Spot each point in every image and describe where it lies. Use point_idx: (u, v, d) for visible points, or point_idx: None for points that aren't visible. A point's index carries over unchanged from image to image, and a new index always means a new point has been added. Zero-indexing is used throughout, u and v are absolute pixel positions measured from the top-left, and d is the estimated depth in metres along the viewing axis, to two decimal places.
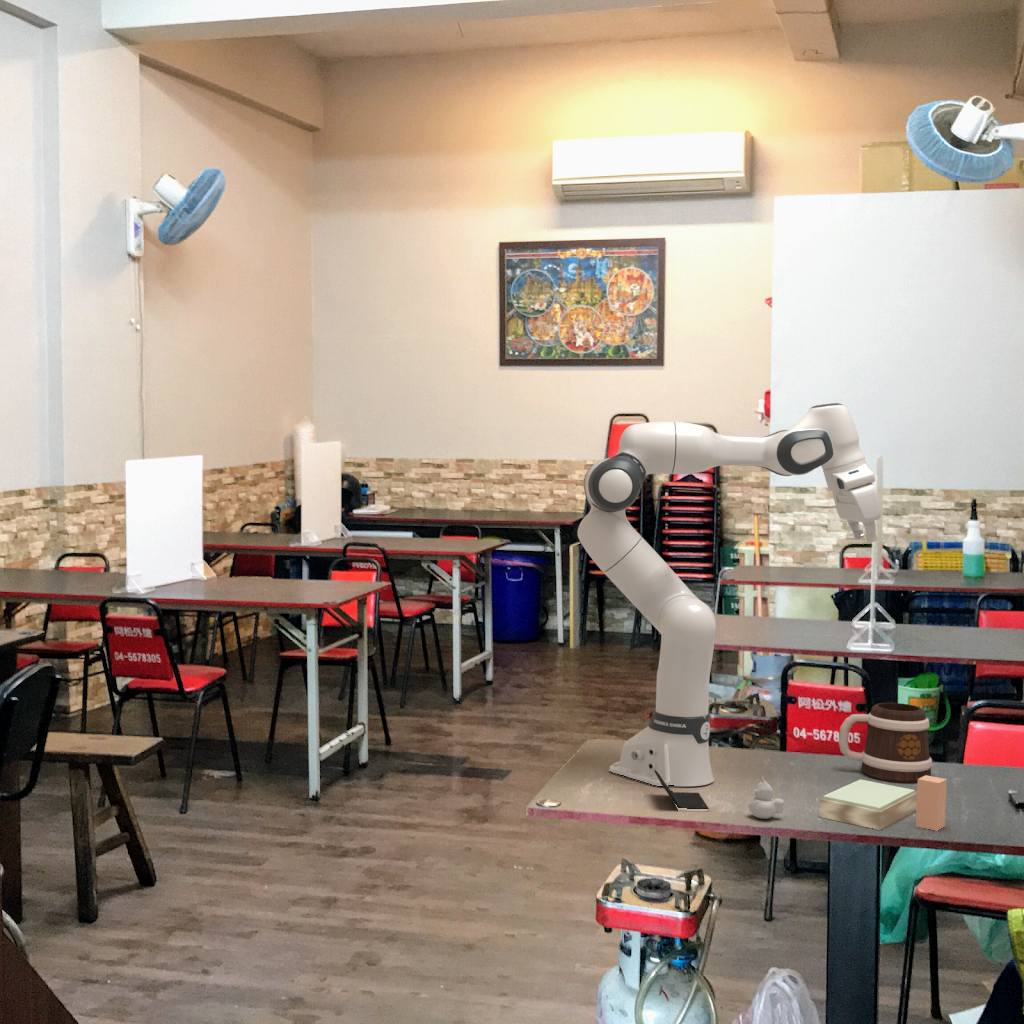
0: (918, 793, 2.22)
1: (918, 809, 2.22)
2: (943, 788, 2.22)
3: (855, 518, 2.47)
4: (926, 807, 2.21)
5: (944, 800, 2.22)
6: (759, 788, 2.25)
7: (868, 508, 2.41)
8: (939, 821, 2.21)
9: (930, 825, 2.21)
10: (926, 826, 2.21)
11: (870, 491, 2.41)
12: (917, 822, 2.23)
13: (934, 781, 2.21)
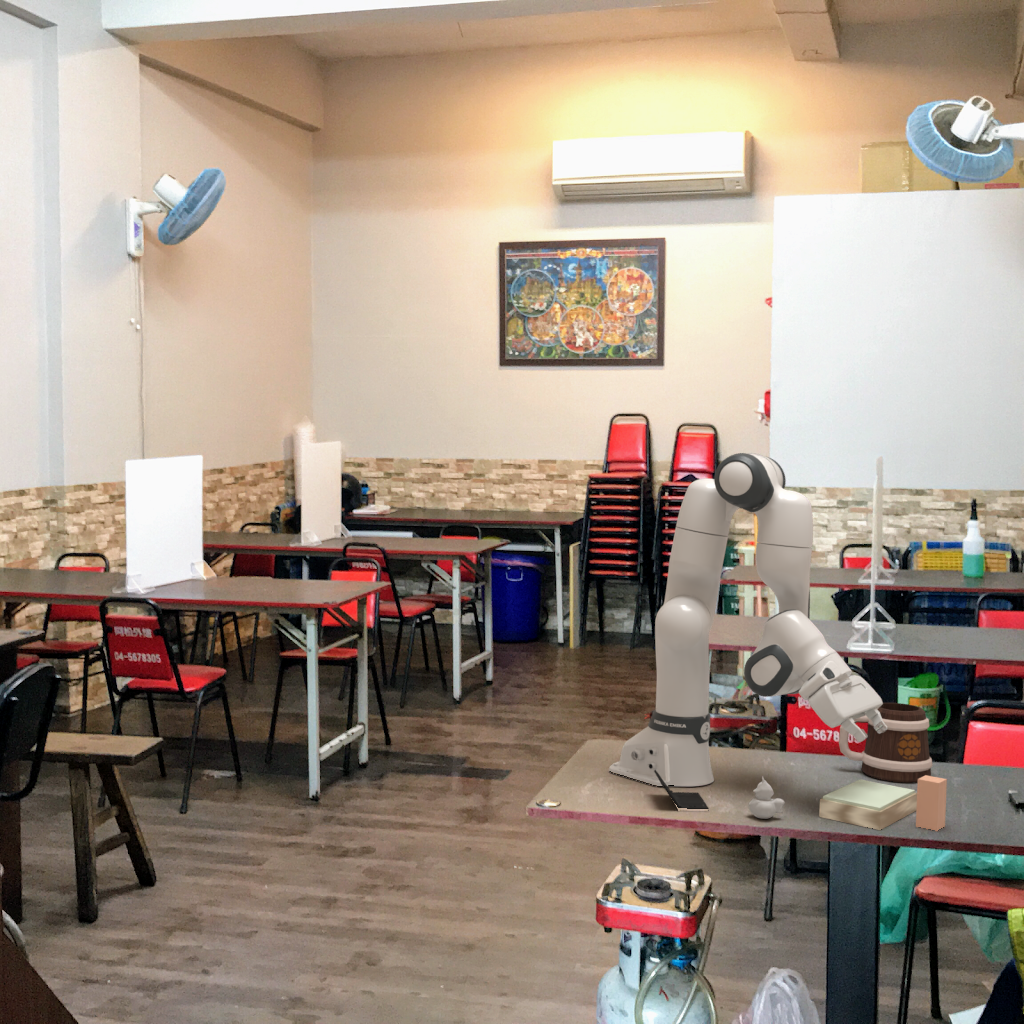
0: (918, 793, 2.22)
1: (918, 809, 2.22)
2: (943, 788, 2.22)
3: None
4: (926, 807, 2.21)
5: (944, 800, 2.22)
6: (759, 788, 2.25)
7: (825, 713, 2.26)
8: (939, 821, 2.21)
9: (930, 825, 2.21)
10: (926, 826, 2.21)
11: (822, 694, 2.27)
12: (917, 822, 2.23)
13: (934, 781, 2.21)
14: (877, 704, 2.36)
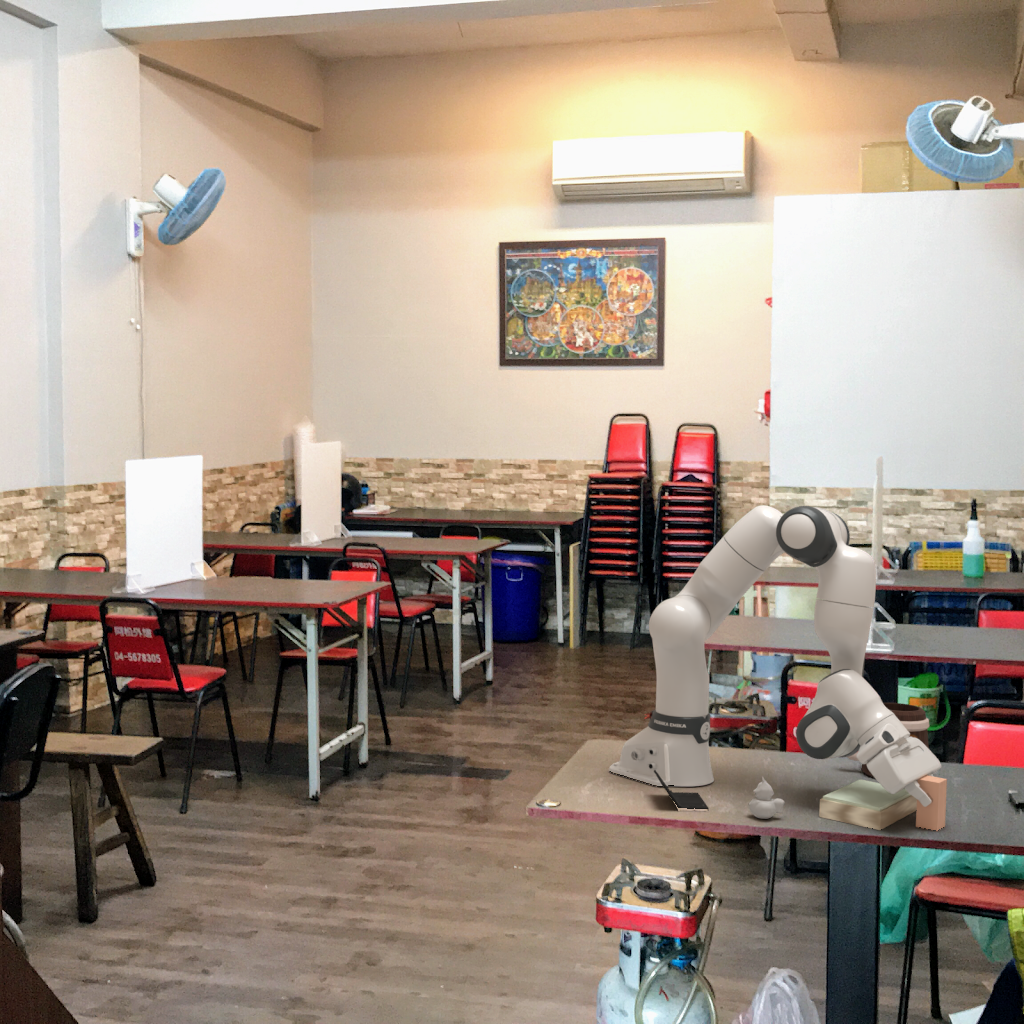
0: None
1: (918, 809, 2.22)
2: (943, 788, 2.22)
3: None
4: (926, 807, 2.21)
5: (944, 800, 2.22)
6: (759, 788, 2.25)
7: (886, 778, 2.18)
8: (939, 821, 2.21)
9: (930, 825, 2.21)
10: (926, 826, 2.21)
11: (882, 759, 2.19)
12: (917, 822, 2.22)
13: (934, 781, 2.21)
14: (936, 768, 2.29)
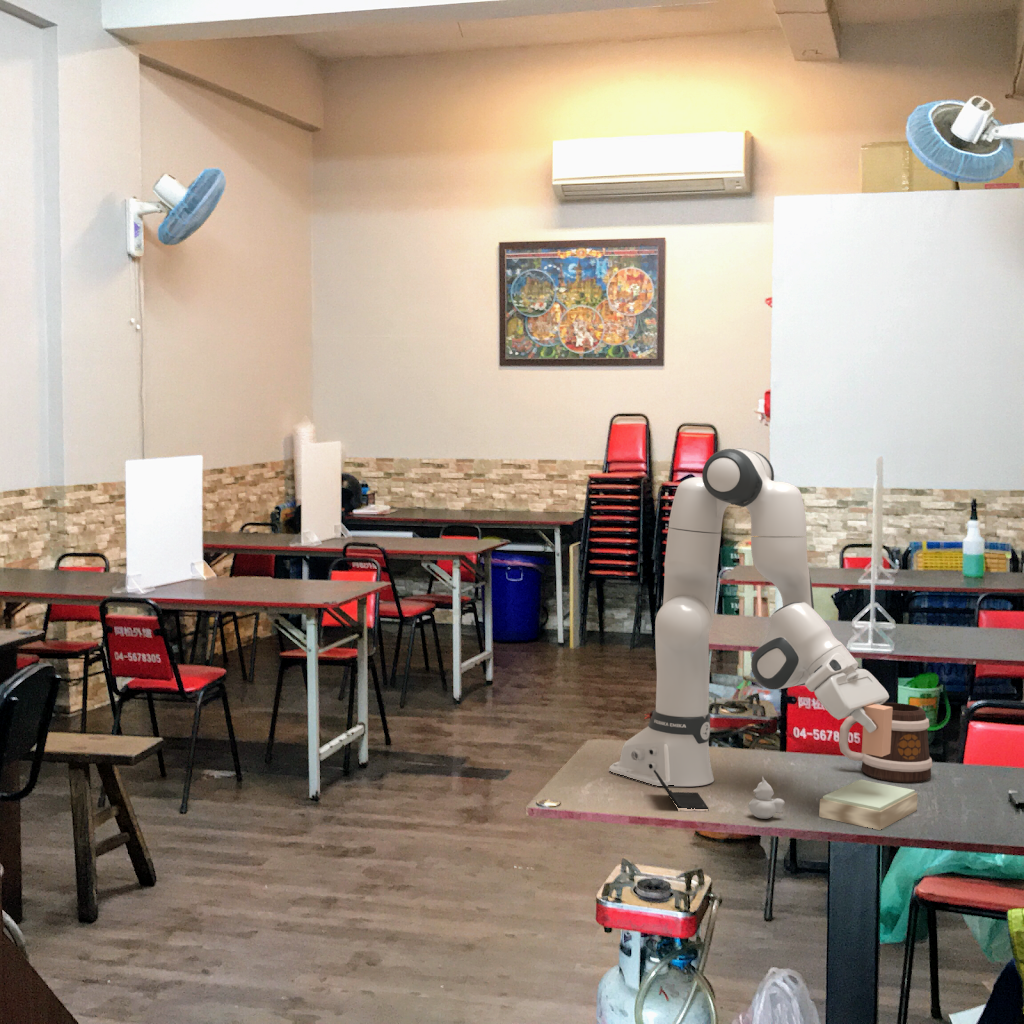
0: None
1: (864, 736, 2.29)
2: (888, 715, 2.28)
3: None
4: (871, 733, 2.28)
5: (889, 727, 2.29)
6: (759, 788, 2.25)
7: (832, 704, 2.24)
8: (884, 747, 2.27)
9: (875, 750, 2.27)
10: (871, 752, 2.28)
11: (829, 686, 2.25)
12: (863, 748, 2.29)
13: (880, 708, 2.27)
14: (883, 697, 2.35)
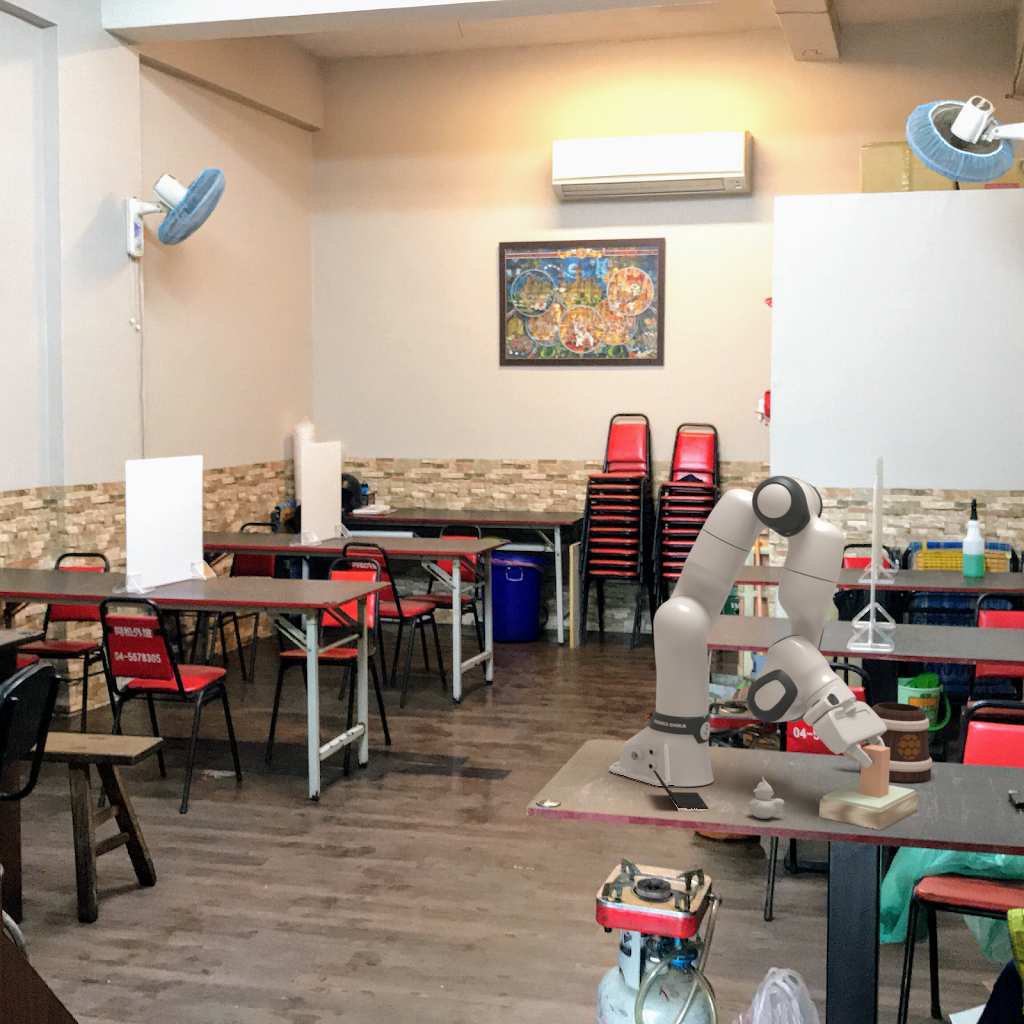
0: None
1: (862, 777, 2.29)
2: (886, 756, 2.29)
3: None
4: (869, 775, 2.28)
5: (887, 768, 2.29)
6: (759, 788, 2.25)
7: (830, 739, 2.25)
8: (883, 788, 2.28)
9: (873, 792, 2.28)
10: (870, 793, 2.28)
11: (827, 720, 2.26)
12: (861, 789, 2.29)
13: (877, 749, 2.28)
14: (881, 730, 2.36)
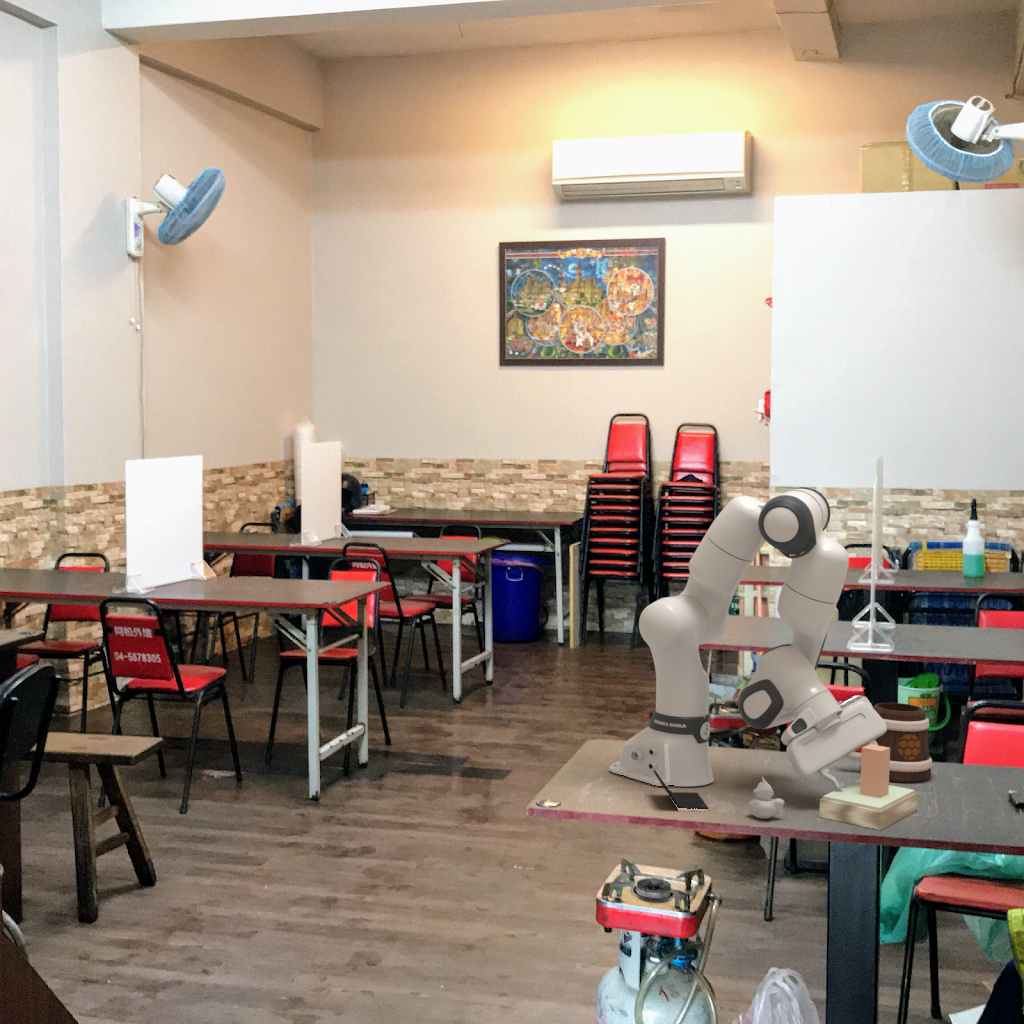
0: (862, 761, 2.29)
1: (862, 777, 2.29)
2: (886, 756, 2.29)
3: None
4: (869, 775, 2.28)
5: (887, 768, 2.29)
6: (759, 788, 2.25)
7: (795, 767, 2.33)
8: (883, 788, 2.28)
9: (873, 792, 2.28)
10: (870, 793, 2.28)
11: (790, 750, 2.33)
12: (861, 789, 2.29)
13: (877, 749, 2.28)
14: (875, 735, 2.34)
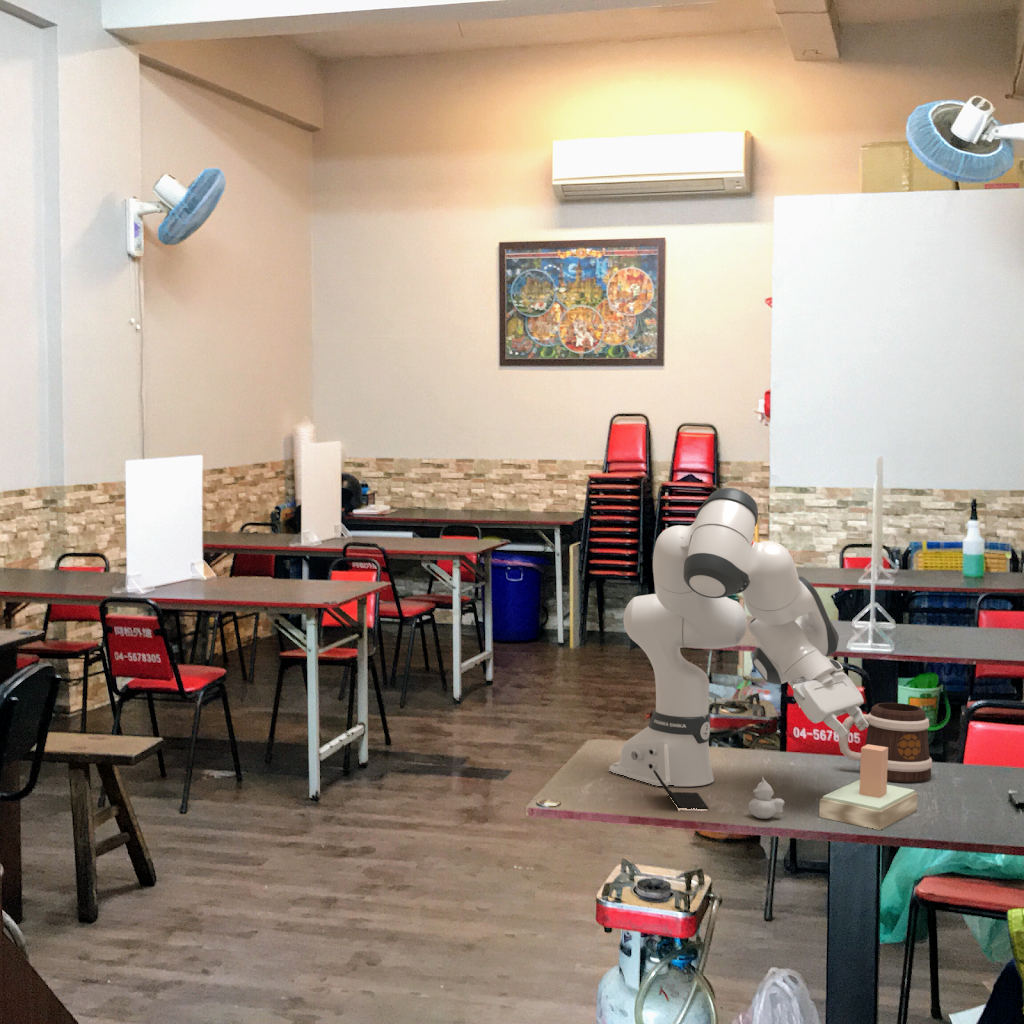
0: (861, 761, 2.29)
1: (861, 777, 2.29)
2: (885, 756, 2.29)
3: (851, 701, 2.37)
4: (869, 775, 2.28)
5: (886, 768, 2.30)
6: (759, 788, 2.25)
7: None
8: (882, 788, 2.28)
9: (873, 792, 2.28)
10: (869, 793, 2.28)
11: None
12: (860, 790, 2.29)
13: (877, 749, 2.28)
14: None
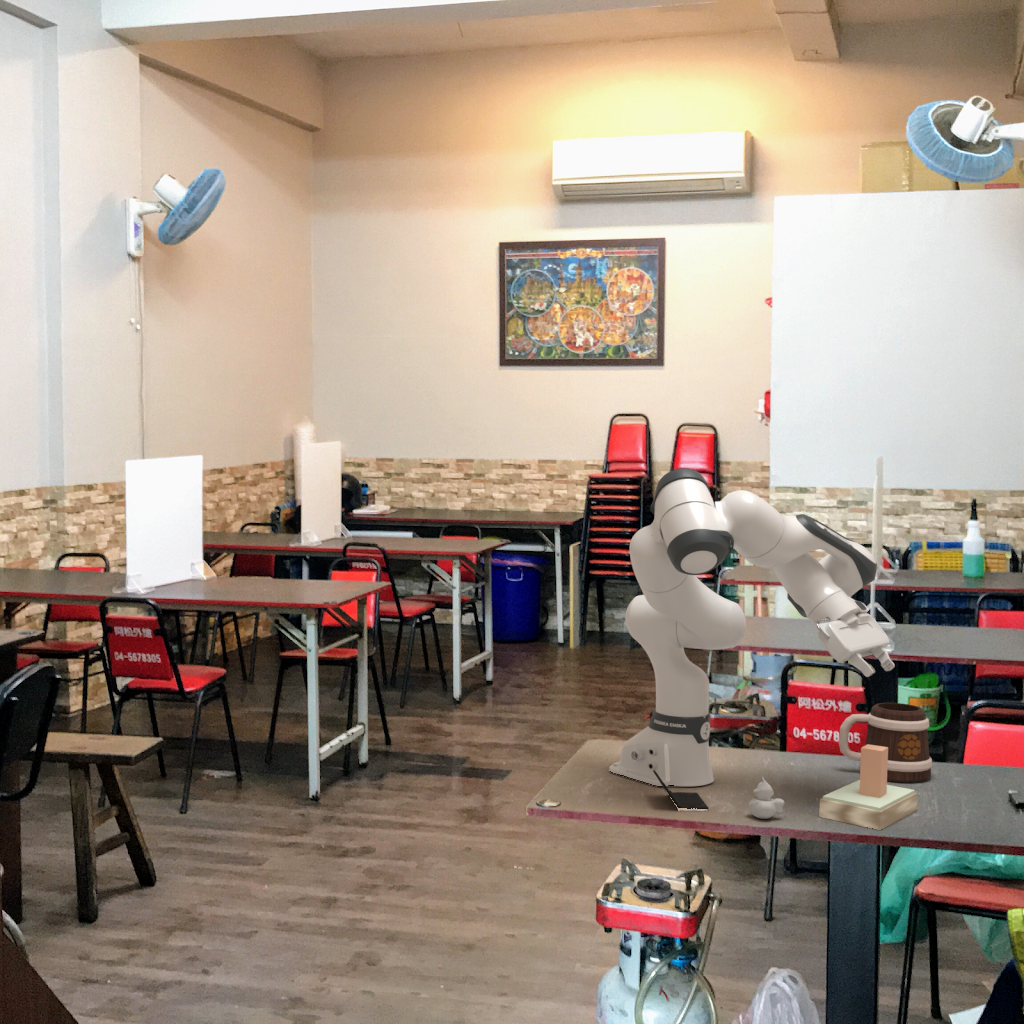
0: (861, 761, 2.29)
1: (861, 777, 2.29)
2: (885, 756, 2.29)
3: (877, 641, 2.35)
4: (869, 775, 2.28)
5: (886, 768, 2.30)
6: (759, 788, 2.25)
7: None
8: (882, 788, 2.28)
9: (873, 792, 2.28)
10: (869, 793, 2.28)
11: None
12: (860, 790, 2.29)
13: (877, 749, 2.28)
14: None
